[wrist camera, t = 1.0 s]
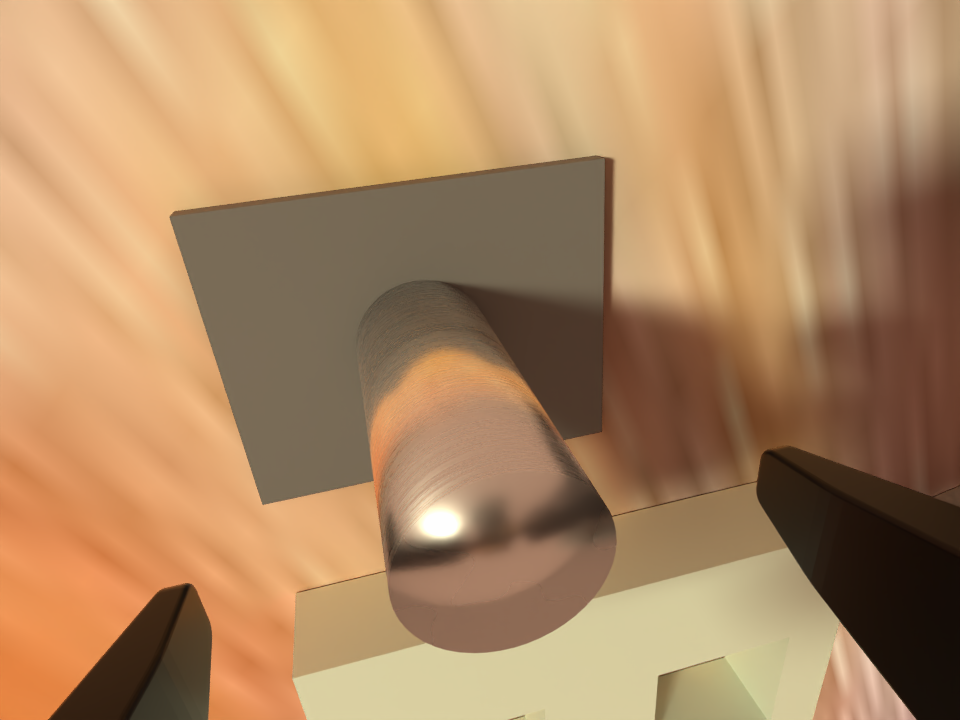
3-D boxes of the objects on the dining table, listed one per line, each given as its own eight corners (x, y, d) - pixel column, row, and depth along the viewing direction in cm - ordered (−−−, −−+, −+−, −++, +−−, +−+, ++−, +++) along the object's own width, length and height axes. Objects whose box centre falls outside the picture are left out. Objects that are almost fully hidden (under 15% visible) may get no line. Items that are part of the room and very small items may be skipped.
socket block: (801, 471, 22) (873, 532, 19) (753, 708, 28) (802, 781, 26) (296, 593, 19) (292, 688, 16) (370, 828, 25) (377, 926, 23)
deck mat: (596, 155, 15) (604, 158, 15) (595, 423, 19) (601, 431, 18) (174, 211, 13) (169, 216, 13) (264, 493, 17) (262, 504, 17)
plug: (481, 269, 15) (619, 449, 8) (491, 387, 17) (614, 620, 10) (344, 291, 15) (369, 504, 8) (368, 410, 16) (406, 677, 9)
